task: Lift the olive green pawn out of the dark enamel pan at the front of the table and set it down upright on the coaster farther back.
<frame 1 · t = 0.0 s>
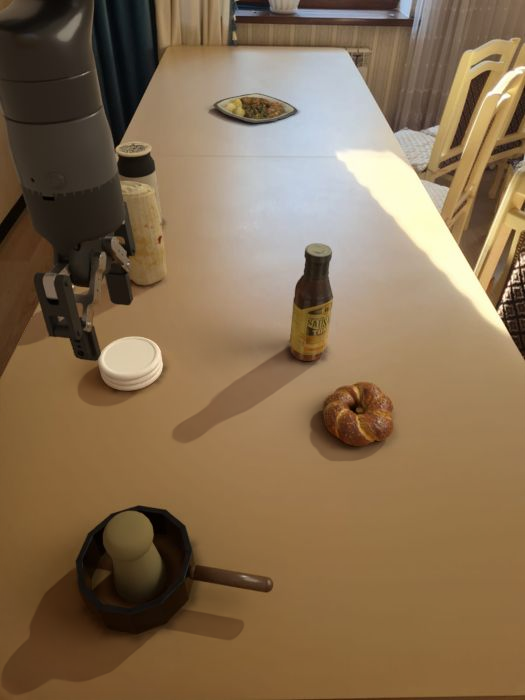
hand: (106, 328, 53), 28 cm above the table, tool pointing down, fingers open, 8 cm apart
coaster: (132, 371, 89), on the table
meal: (255, 111, 185), on the table
food model: (144, 279, 109), on the table
travel mug: (145, 225, 125), on the table
sauce bottle: (308, 351, 93), on the table
pretzel: (357, 419, 82), on the table
olive green pawn: (141, 577, 63), resting in pan
pan: (140, 576, 63), on the table
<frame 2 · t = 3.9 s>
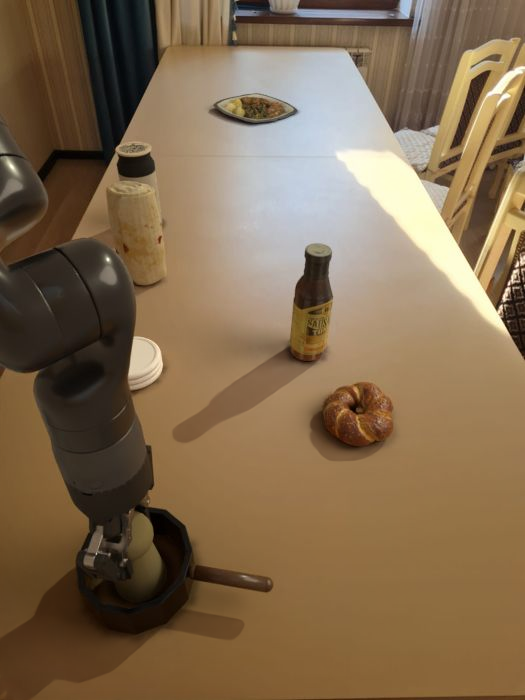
hand: (132, 549, 59), 6 cm above the table, tool pointing down, fingers closed on olive green pawn, 5 cm apart
olive green pawn: (141, 577, 63), resting in pan, touching gripper
everything else where it was.
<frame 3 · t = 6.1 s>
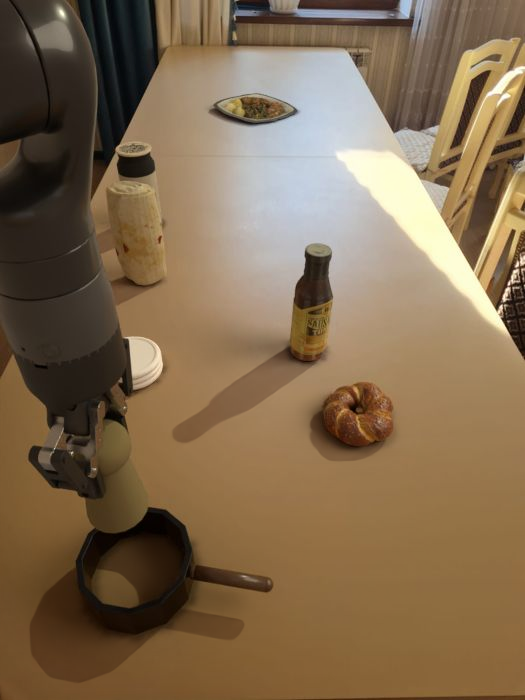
hand: (106, 466, 49), 21 cm above the table, tool pointing down, fingers closed on olive green pawn, 5 cm apart
olive green pawn: (118, 506, 54), point 14 cm above the table, touching gripper
everything else where it was.
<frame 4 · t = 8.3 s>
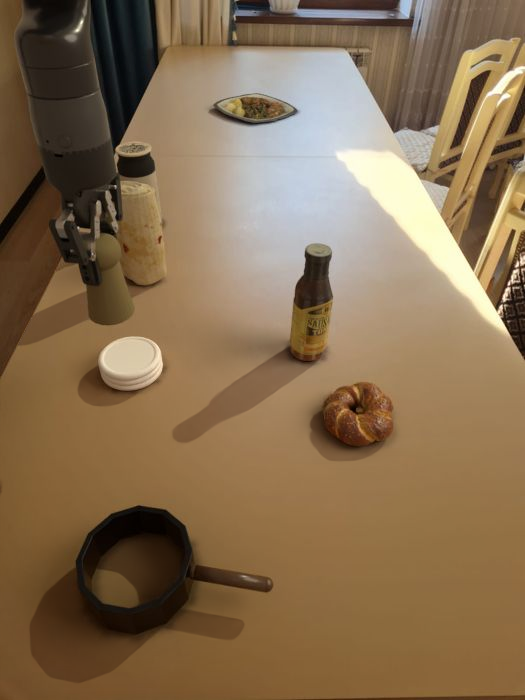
hand: (102, 270, 68), 24 cm above the table, tool pointing down, fingers closed on olive green pawn, 5 cm apart
olive green pawn: (111, 312, 72), point 17 cm above the table, touching gripper
everything else where it was.
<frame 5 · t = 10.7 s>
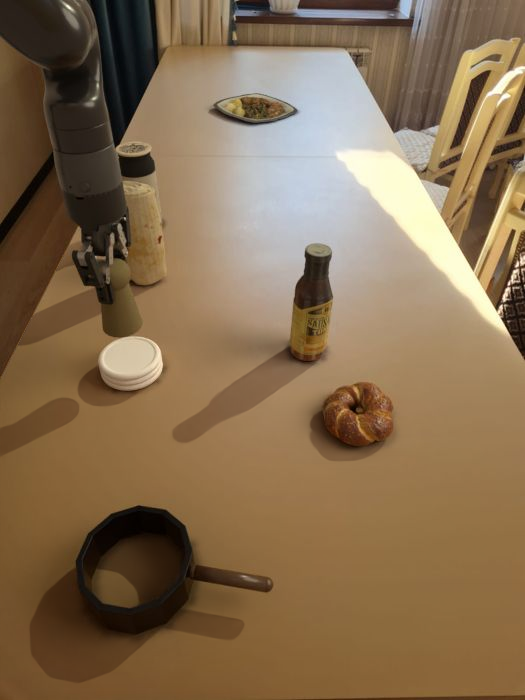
hand: (114, 290, 78), 16 cm above the table, tool pointing down, fingers closed on olive green pawn, 5 cm apart
olive green pawn: (122, 325, 83), point 9 cm above the table, touching gripper
everything else where it was.
when the fingers open (10 cm above the table, at t = 12.7 s): olive green pawn stays where it is, resting on coaster.
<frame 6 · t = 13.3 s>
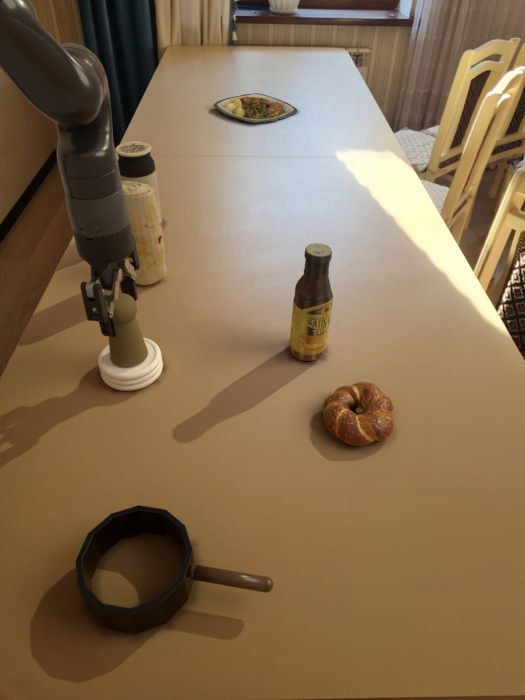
hand: (121, 317, 82), 11 cm above the table, tool pointing down, fingers open, 8 cm apart
coaster: (132, 371, 89), on the table, touching olive green pawn
olive green pawn: (129, 355, 87), point 3 cm above the table, touching coaster
everything else where it was.
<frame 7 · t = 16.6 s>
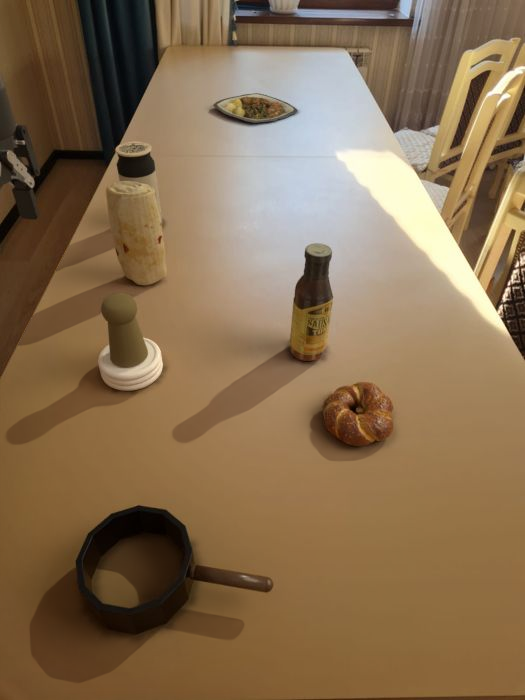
hand: (12, 235, 62), 30 cm above the table, tool pointing down, fingers open, 8 cm apart
nothing on the table moved.
at the end: olive green pawn 0.0 cm off-centre on the coaster, point 3.5 cm above the coaster's base; olive green pawn tilted 0°; olive green pawn touching coaster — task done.
